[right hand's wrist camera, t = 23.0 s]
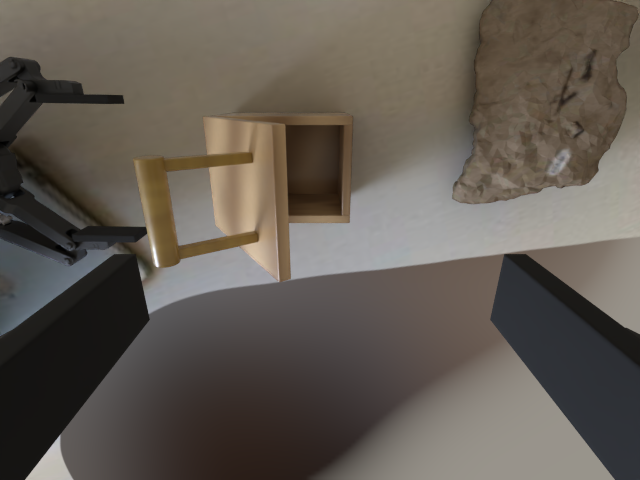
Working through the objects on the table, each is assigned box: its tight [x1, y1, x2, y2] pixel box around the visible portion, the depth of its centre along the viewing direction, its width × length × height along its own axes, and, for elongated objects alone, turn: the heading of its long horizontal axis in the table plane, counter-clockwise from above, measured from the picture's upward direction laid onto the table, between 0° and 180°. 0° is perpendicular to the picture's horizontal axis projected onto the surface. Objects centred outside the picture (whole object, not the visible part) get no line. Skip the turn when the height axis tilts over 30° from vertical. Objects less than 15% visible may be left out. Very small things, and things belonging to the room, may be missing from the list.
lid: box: [133, 116, 291, 282], centre depth 25 cm, size 14×10×8 cm
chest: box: [214, 113, 353, 223], centre depth 37 cm, size 13×10×10 cm
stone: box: [452, 0, 639, 204], centre depth 37 cm, size 21×15×6 cm
